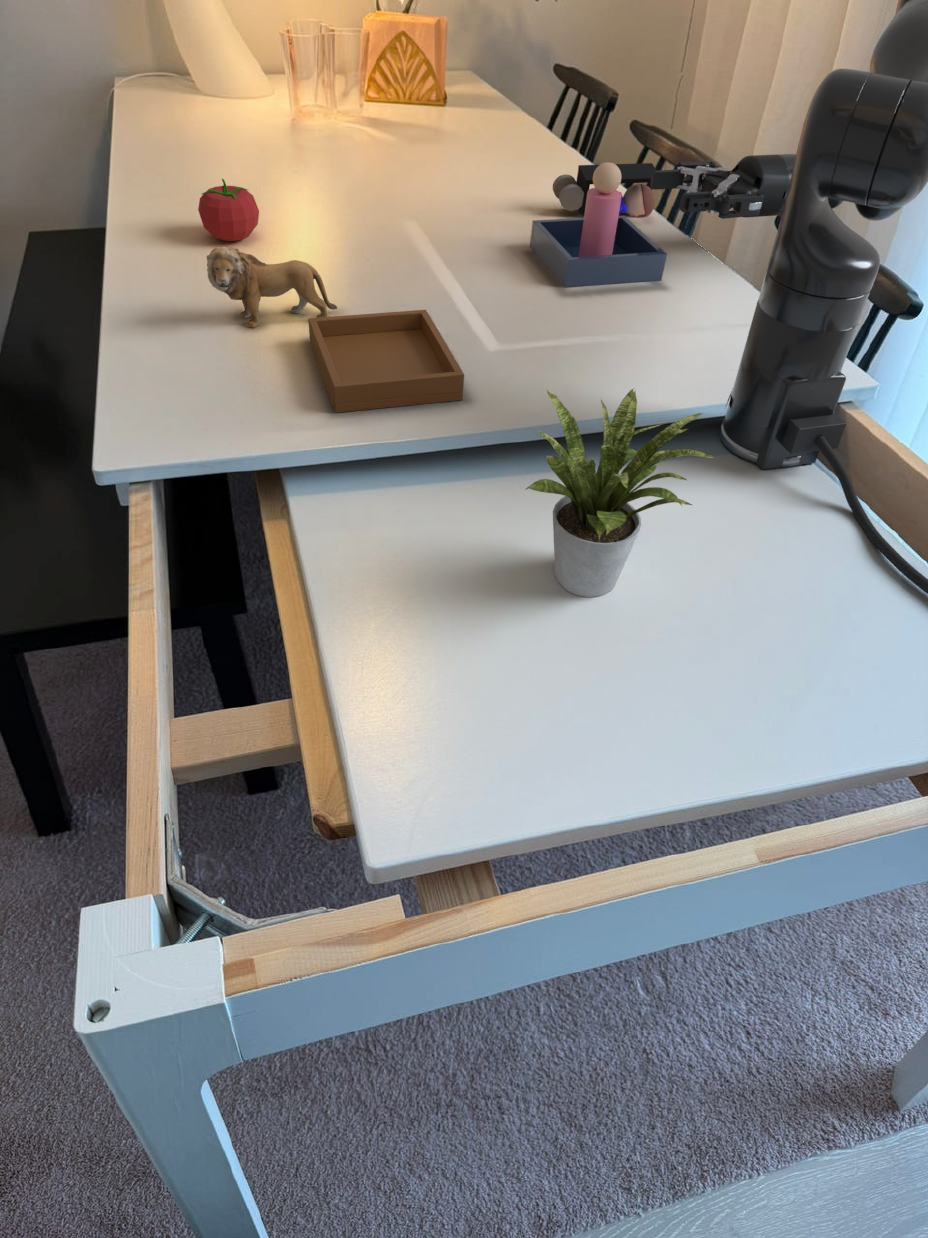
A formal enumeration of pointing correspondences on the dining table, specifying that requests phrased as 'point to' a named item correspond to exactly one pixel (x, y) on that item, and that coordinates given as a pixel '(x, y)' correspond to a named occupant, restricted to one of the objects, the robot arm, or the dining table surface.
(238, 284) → the lion figurine
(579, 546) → the house plant
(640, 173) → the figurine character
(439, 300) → the dining table surface
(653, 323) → the dining table surface
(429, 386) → the tray
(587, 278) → the blue square open box
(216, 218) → the tomato
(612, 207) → the doll
